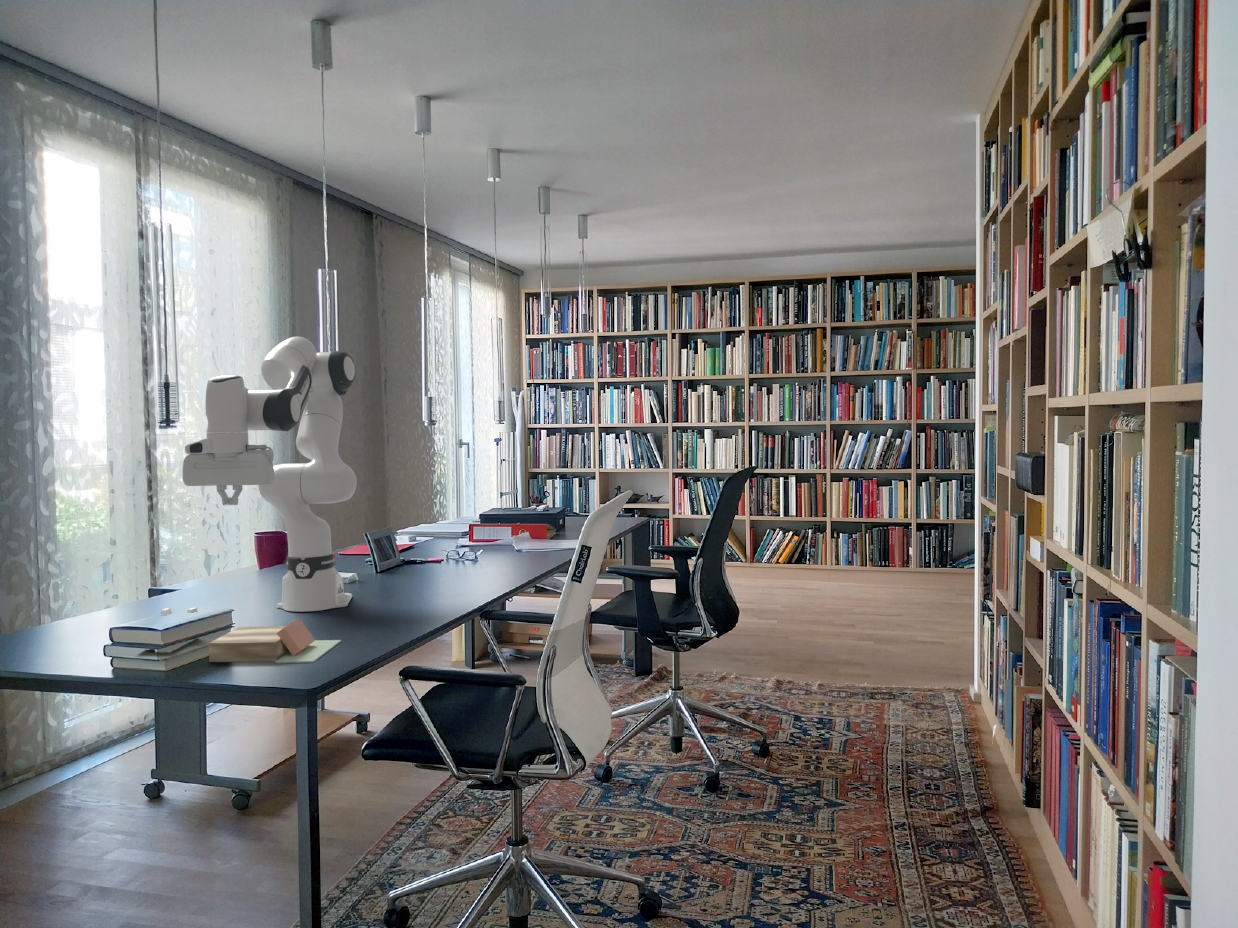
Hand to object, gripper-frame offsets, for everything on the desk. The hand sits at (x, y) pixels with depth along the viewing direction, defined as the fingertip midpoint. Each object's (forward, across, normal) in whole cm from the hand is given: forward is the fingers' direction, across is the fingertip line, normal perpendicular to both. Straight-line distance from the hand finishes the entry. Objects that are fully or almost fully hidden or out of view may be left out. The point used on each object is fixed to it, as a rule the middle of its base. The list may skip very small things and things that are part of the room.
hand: (230, 505), depth 209 cm
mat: (+31, -22, +14) cm, 41 cm away
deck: (+31, -11, +14) cm, 36 cm away
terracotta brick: (+28, -19, +14) cm, 37 cm away
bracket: (+32, +12, +7) cm, 34 cm away
